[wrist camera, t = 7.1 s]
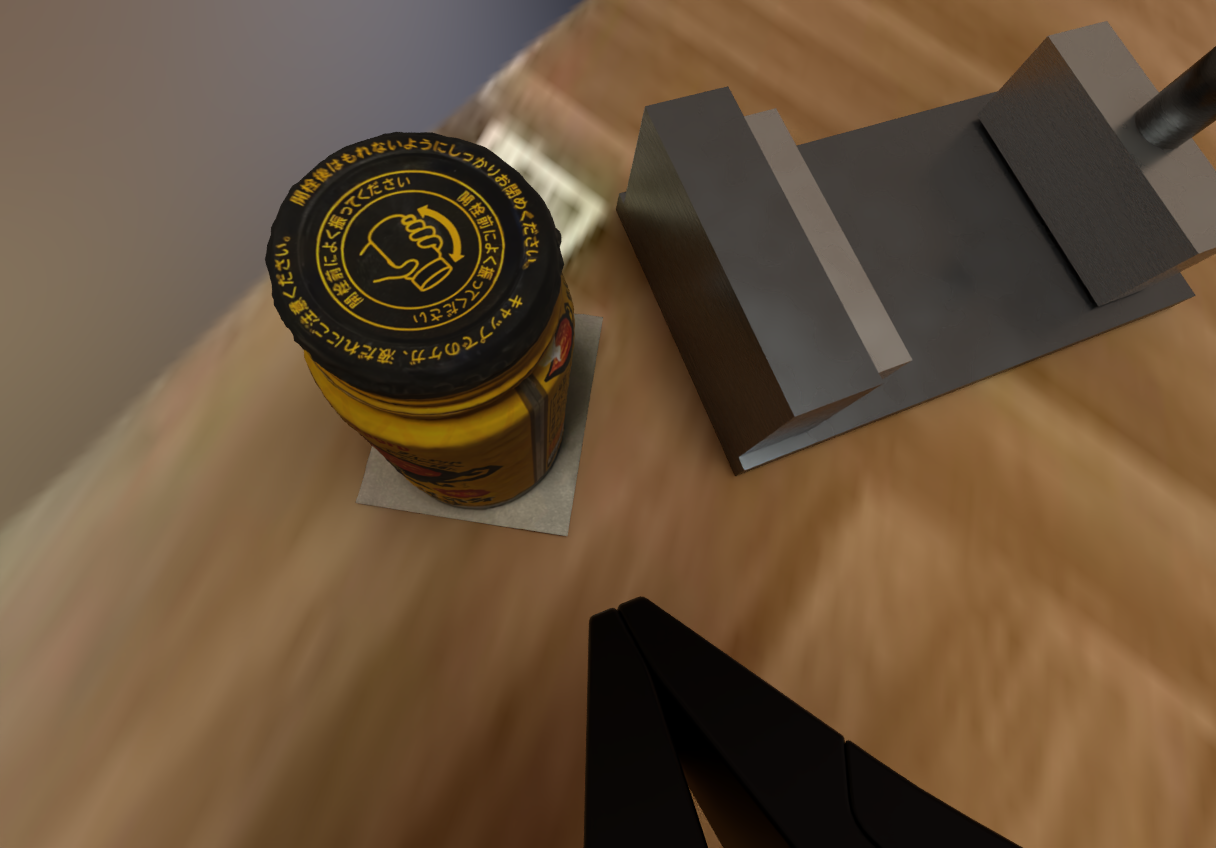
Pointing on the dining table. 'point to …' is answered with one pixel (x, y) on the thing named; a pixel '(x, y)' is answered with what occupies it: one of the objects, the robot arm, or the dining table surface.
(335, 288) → the condiment
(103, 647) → the dining table surface
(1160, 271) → the sliding jaw
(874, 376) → the vise
